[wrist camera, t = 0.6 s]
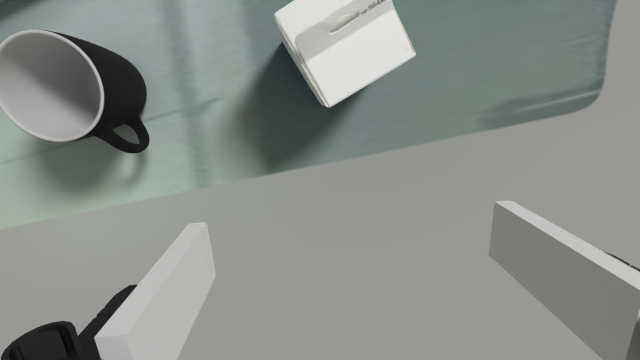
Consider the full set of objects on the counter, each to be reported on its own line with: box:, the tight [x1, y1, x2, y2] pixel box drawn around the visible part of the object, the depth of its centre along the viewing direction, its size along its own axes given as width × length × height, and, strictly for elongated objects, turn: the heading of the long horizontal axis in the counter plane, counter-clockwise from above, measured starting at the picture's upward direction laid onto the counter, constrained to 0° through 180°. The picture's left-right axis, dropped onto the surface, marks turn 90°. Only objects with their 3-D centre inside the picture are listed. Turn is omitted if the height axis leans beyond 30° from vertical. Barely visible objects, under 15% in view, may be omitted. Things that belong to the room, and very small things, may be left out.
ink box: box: [273, 0, 416, 108], centre depth 29 cm, size 9×8×13 cm
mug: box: [0, 30, 149, 153], centre depth 31 cm, size 12×9×10 cm
